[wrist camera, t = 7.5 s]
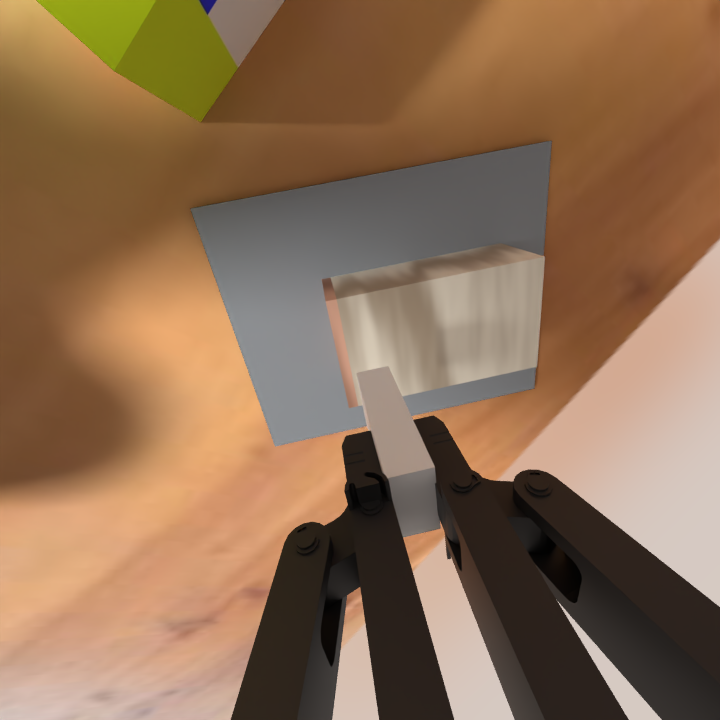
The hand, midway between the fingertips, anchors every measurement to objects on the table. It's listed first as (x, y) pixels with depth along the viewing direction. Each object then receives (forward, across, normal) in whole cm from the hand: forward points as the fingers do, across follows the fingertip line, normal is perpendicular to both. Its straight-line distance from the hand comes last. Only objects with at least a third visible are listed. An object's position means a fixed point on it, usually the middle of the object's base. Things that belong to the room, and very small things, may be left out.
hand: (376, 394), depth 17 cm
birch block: (+7, -1, 0) cm, 7 cm away
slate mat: (+10, +3, 0) cm, 10 cm away
